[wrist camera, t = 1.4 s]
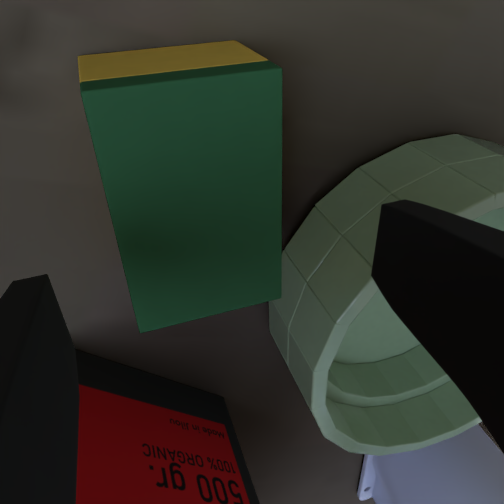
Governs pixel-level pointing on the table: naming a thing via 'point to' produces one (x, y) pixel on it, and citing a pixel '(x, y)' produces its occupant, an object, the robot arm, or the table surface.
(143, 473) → the cleaning product box
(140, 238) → the sponge
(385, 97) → the table surface
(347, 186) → the bowl
